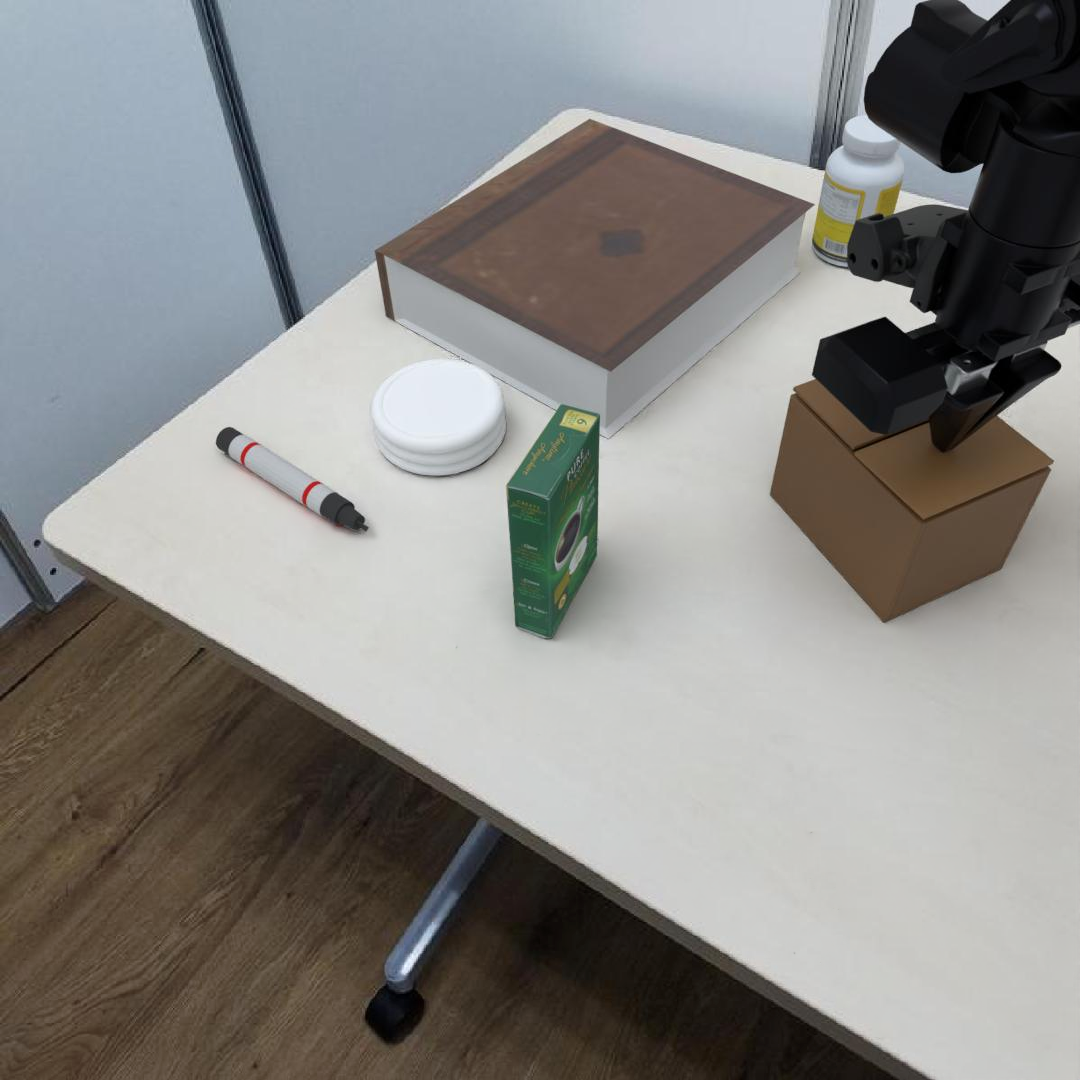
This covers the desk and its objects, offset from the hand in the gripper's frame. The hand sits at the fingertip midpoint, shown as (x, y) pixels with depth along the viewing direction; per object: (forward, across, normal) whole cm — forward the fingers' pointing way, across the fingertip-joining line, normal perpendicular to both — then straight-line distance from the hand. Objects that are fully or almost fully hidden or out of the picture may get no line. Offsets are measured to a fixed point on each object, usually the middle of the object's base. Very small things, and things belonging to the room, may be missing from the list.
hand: (942, 446), depth 61 cm
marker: (+10, +35, -25) cm, 44 cm away
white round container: (+10, +23, -26) cm, 36 cm away
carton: (+10, 0, -2) cm, 10 cm away
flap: (0, 0, +1) cm, 1 cm away
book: (+10, +4, -36) cm, 37 cm away
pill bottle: (+10, -19, -31) cm, 37 cm away
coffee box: (+10, +22, -8) cm, 26 cm away
